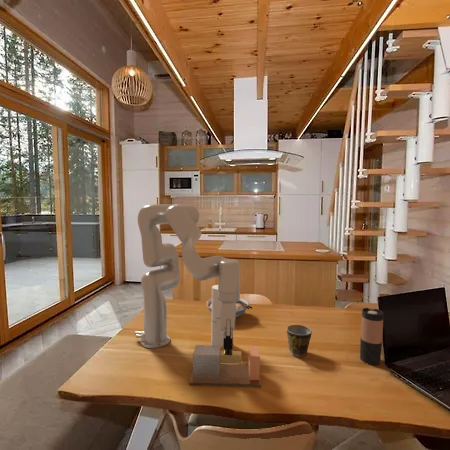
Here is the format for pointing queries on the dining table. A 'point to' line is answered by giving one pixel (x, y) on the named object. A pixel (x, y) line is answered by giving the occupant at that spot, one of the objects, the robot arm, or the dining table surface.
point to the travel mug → (371, 336)
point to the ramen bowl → (240, 306)
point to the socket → (254, 363)
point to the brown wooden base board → (218, 370)
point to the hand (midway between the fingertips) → (228, 345)
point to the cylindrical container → (216, 319)
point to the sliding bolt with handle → (230, 355)
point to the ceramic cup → (298, 339)
